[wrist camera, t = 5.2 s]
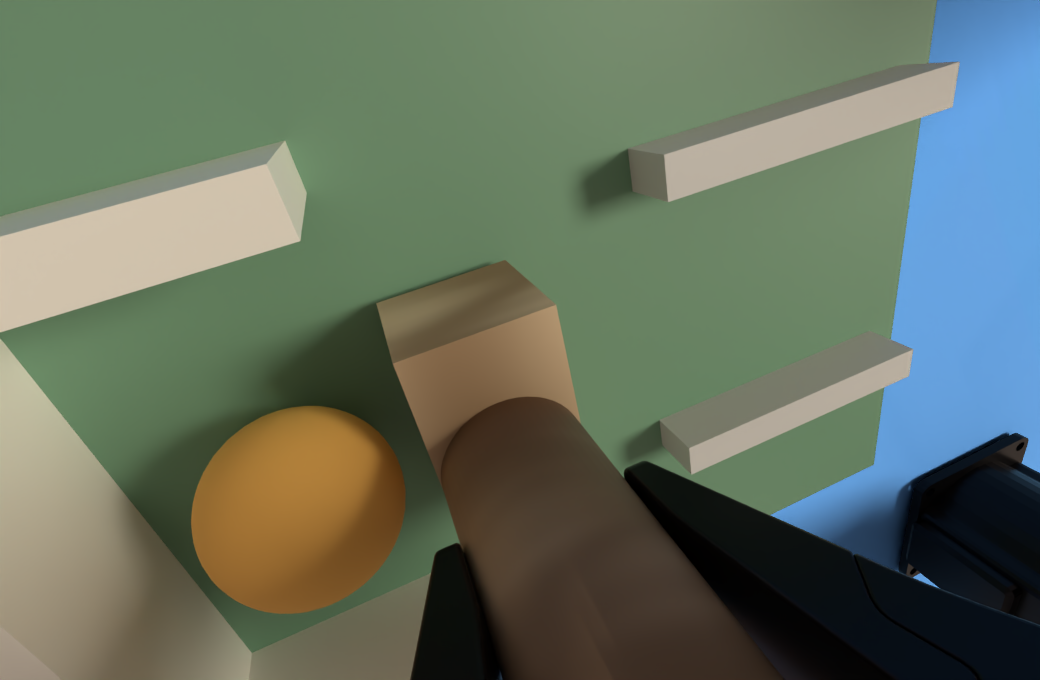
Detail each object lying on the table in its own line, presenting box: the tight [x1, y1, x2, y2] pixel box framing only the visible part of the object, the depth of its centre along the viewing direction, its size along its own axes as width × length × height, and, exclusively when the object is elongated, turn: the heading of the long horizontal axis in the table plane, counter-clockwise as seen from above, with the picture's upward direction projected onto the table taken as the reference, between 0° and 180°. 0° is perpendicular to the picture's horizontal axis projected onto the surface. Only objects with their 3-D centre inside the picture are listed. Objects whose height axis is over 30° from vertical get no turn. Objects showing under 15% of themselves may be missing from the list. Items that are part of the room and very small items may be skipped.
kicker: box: [376, 260, 785, 680], centre depth 9 cm, size 3×6×10 cm, turn 13°
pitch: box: [0, 0, 960, 653], centre depth 14 cm, size 23×20×2 cm
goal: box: [0, 141, 431, 680], centre depth 11 cm, size 7×13×4 cm, turn 13°
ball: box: [191, 406, 406, 614], centre depth 11 cm, size 4×4×4 cm
